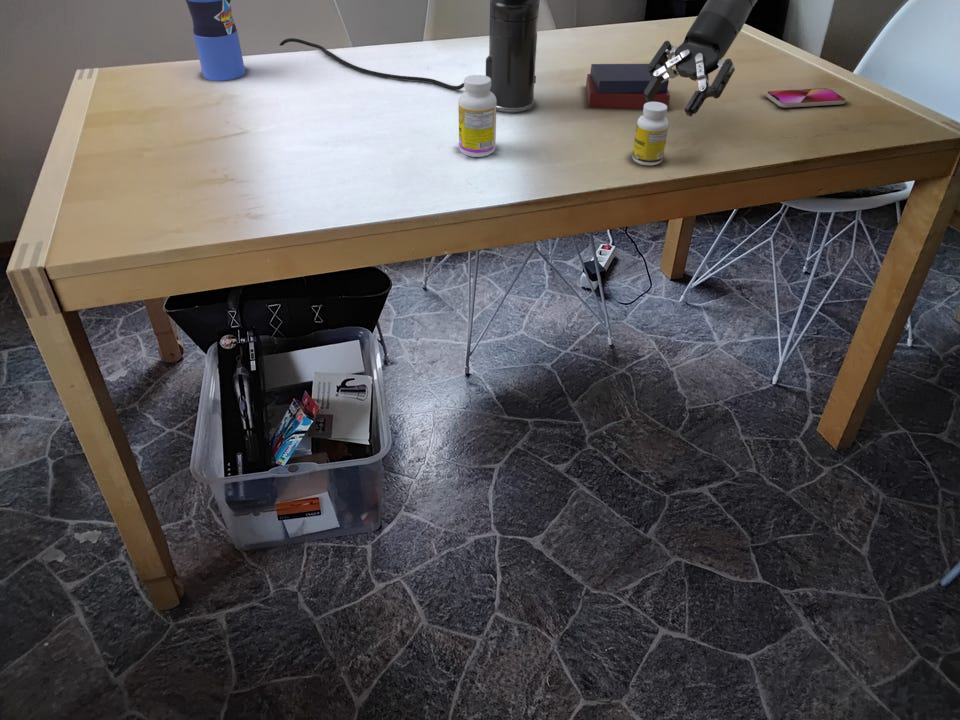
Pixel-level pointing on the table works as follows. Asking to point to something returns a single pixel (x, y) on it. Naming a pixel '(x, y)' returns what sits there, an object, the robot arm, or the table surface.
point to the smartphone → (805, 97)
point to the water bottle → (216, 39)
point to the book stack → (621, 86)
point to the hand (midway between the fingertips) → (667, 106)
